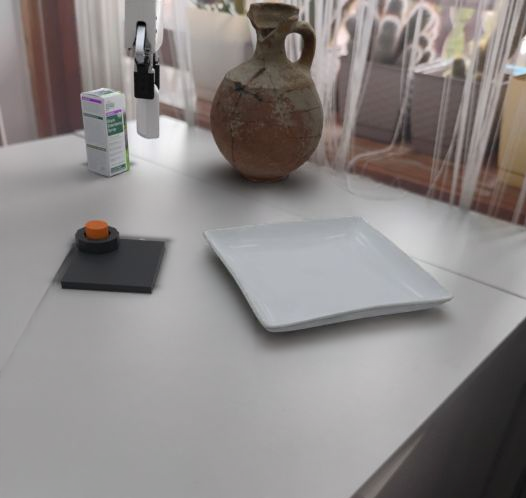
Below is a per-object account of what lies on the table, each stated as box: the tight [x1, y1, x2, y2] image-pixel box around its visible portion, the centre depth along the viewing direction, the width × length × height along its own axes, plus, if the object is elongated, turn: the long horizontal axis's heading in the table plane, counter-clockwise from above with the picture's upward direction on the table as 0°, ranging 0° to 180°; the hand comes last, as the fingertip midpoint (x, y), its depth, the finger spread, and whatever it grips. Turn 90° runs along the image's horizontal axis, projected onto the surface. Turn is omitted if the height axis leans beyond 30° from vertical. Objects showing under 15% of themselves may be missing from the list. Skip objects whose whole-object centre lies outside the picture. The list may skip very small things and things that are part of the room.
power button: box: [84, 219, 109, 239], centre depth 91 cm, size 3×3×2 cm
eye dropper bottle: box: [135, 68, 160, 140], centre depth 105 cm, size 4×6×12 cm
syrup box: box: [79, 87, 131, 178], centre depth 117 cm, size 6×6×14 cm
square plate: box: [202, 215, 455, 333], centre depth 89 cm, size 27×27×4 cm
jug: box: [209, 1, 325, 183], centre depth 117 cm, size 22×22×30 cm
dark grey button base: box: [60, 225, 166, 295], centre depth 89 cm, size 12×14×3 cm
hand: (147, 92), depth 105 cm, fingers closed on eye dropper bottle, 5 cm apart
